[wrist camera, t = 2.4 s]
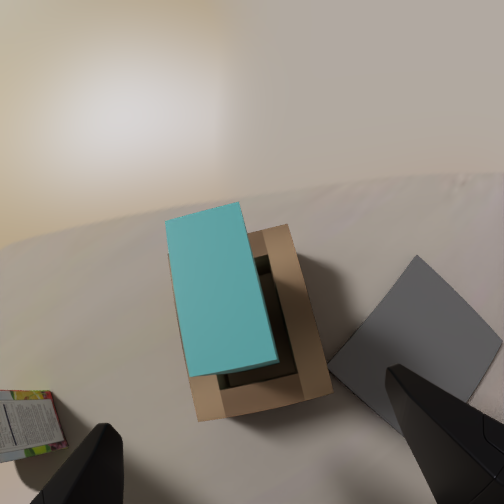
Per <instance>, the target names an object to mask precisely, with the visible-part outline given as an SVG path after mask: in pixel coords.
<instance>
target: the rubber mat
mask: <svg viewBox="0 0 504 504" xmlns="http://www.w3.org/2000/svg"><path fill="white" fill-rule="evenodd" d="M501 343H502V340H501V338H500V337H499V336H498V335H497V334H496V333H495V332H494V331H493V330H492V328H491V327H490V326H489V325H488V324H487V323H486V322H485V321H484V320H483V319H482V318H481V317H480V316H479V315H478V313H477V312H476V311H475V310H474V309H473V308H472V307H471V306H470V305H469V304H468V303H467V302H466V301H465V300H464V299H463V298H462V297H461V296H460V295H459V294H458V293H457V292H456V291H455V290H454V289H453V288H452V287H451V286H450V285H449V284H448V283H447V282H446V281H445V280H444V279H443V278H442V277H441V276H439V275H438V274H437V273H436V272H435V271H434V270H433V269H432V268H431V267H430V266H429V265H428V264H427V263H426V262H425V261H423V260H422V259H421V258H420V257H419V256H418V255H416V256H415V257H414V258H413V260H412V261H411V263H410V264H409V265H408V267H407V268H406V269H405V271H404V272H403V274H402V275H401V276H400V278H399V279H398V280H397V281H396V283H395V284H394V285H393V287H392V288H391V289H390V291H389V292H388V293H387V294H386V296H385V297H384V298H383V299H382V301H381V302H380V303H379V304H378V306H377V307H376V308H375V309H374V311H373V312H372V313H371V314H370V315H369V317H368V318H367V319H366V320H365V321H364V323H363V324H362V325H361V326H360V327H359V329H358V330H357V331H356V332H355V333H354V334H353V335H352V337H351V338H350V339H349V340H348V341H347V342H346V343H345V345H344V346H343V347H342V348H341V349H340V350H339V351H338V352H337V353H336V354H335V356H334V357H333V358H332V359H331V360H330V361H329V362H328V363H327V367H328V370H329V371H330V372H331V373H332V374H334V375H335V376H336V377H337V378H338V379H339V380H340V381H341V382H342V383H343V384H345V385H346V386H347V387H348V388H349V389H350V390H351V391H352V392H353V393H355V394H356V395H357V396H358V397H359V398H360V399H361V400H362V401H364V402H365V403H366V404H367V405H368V406H369V407H370V408H371V409H373V410H374V411H375V412H376V413H377V414H378V415H379V416H381V417H382V418H383V419H384V420H385V421H386V422H387V423H389V424H390V425H391V426H392V427H393V428H394V429H395V430H397V431H398V432H399V433H400V434H401V435H402V436H404V435H403V433H402V431H401V429H400V426H399V424H398V421H397V418H396V416H395V413H394V410H393V407H392V405H391V402H390V400H389V397H388V394H387V392H386V389H385V376H386V369H387V367H388V366H391V365H394V364H396V363H400V364H402V365H403V366H405V367H407V368H408V369H410V370H412V371H413V372H415V373H417V374H418V375H420V376H422V377H423V378H425V379H427V380H428V381H430V382H432V383H433V384H435V385H437V386H438V387H440V388H442V389H443V390H445V391H447V392H448V393H450V394H452V395H454V396H455V397H457V398H459V399H460V400H462V401H464V402H465V403H466V402H467V401H468V399H469V398H470V396H471V395H472V393H473V391H474V390H475V388H476V387H477V385H478V384H479V382H480V380H481V379H482V377H483V375H484V374H485V372H486V370H487V369H488V367H489V365H490V364H491V362H492V360H493V358H494V356H495V355H496V353H497V351H498V349H499V347H500V345H501Z"/></svg>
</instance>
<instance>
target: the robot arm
mask: <svg viewBox="0 0 504 504" xmlns="http://www.w3.org/2000/svg"><path fill="white" fill-rule="evenodd" d="M385 389H386V392H387V394H388V397H389V400H390V402H391V405H392V407H393V410H394V413H395V416H396V418H397V421H398V424H399V426H400V429H401V431H402V433H403V435H404V437H405V439H406V441H407V443H408V445H409V447H410V449H411V451H412V453H413V455H414V457H415V459H416V461H417V463H418V465H419V467H420V469H421V471H422V473H423V475H424V477H425V479H426V481H427V483H428V485H429V487H430V489H431V492H432V494H433V496H434V498H435V500H436V502H437V504H504V424H502V423H500V422H498V421H497V420H495V419H493V418H491V417H489V416H488V415H486V414H483V413H482V412H481V411H479V410H477V409H476V408H474V407H472V406H470V405H469V404H467V403H465V402H464V401H462V400H460V399H459V398H457V397H455V396H454V395H452V394H450V393H448V392H447V391H445V390H443V389H442V388H440V387H438V386H437V385H435V384H433V383H432V382H430V381H428V380H427V379H425V378H423V377H422V376H420V375H418V374H417V373H415V372H413V371H412V370H410V369H408V368H407V367H405V366H403V365H402V364H400V363H396V364H394V365H391V366H388V367H387V369H386V376H385ZM123 490H124V465H123V441H122V437H121V436H120V434H119V433H118V432H117V431H116V430H115V429H114V428H113V427H112V425H111V424H109V423H99V424H97V425H96V426H95V427H94V429H93V430H92V431H91V432H90V433H89V434H88V436H87V437H86V438H85V439H84V440H83V441H82V443H81V444H80V445H79V446H78V447H77V449H76V450H75V451H74V452H73V453H72V454H71V456H70V457H69V458H68V459H67V460H66V462H65V463H64V464H63V465H62V466H61V467H60V469H59V470H58V471H57V472H56V473H55V475H54V476H53V477H52V478H51V479H50V481H49V482H48V483H47V484H46V485H45V486H44V488H43V490H41V491H40V492H39V494H38V495H37V496H36V497H35V498H34V499H33V500H32V502H31V503H30V504H123Z"/></svg>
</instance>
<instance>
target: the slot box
mask: <svg viewBox="0 0 504 504" xmlns="http://www.w3.org/2000/svg"><path fill="white" fill-rule="evenodd" d="M247 235H248V238H249V242H250V246H251V250H252V253H253V257H254V261H255V265H256V268H257V272H258V276H259V280H260V283H261V287H262V291H263V295H264V299H265V304H266V308H267V312H268V316H269V320H270V324H271V328H272V332H273V336H274V341H275V345H276V349H277V353H278V357H279V361H280V363H278V364H274V365H269V366H265V367H261V368H256V369H252V370H247V371H242V372H235V373H227V374H217V375H207V376H196V377H189V372H188V367H187V362H186V357H185V352H184V346H183V341H182V335H181V330H180V324H179V318H178V312H177V306H176V300H175V293H174V287H173V280H172V273H171V266H170V258H169V253H168V259H169V267H170V274H171V281H172V288H173V295H174V301H175V308H176V314H177V320H178V326H179V331H180V337H181V342H182V348H183V353H184V358H185V363H186V368H187V373H188V378H189V383H190V388H191V392H192V397H193V401H194V406H195V410H196V414H197V418H198V422H201V421H208V420H215V419H221V418H227V417H233V416H239V415H244V414H250V413H255V412H260V411H264V410H269V409H274V408H278V407H282V406H287V405H291V404H295V403H299V402H303V401H307V400H310V399H314V398H318V397H321V396H325V395H328V394H332V393H334V392H333V387H332V383H331V379H330V375H329V371H328V367H327V363H326V359H325V356H324V352H323V348H322V344H321V340H320V336H319V333H318V329H317V325H316V321H315V318H314V314H313V310H312V307H311V303H310V299H309V296H308V292H307V289H306V285H305V282H304V278H303V275H302V271H301V268H300V264H299V261H298V257H297V254H296V251H295V247H294V244H293V240H292V237H291V234H290V230H289V227H288V224H285V225H280V226H276V227H272V228H268V229H264V230H260V231H256V232H252V233H248V234H247Z"/></svg>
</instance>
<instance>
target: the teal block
mask: <svg viewBox="0 0 504 504" xmlns="http://www.w3.org/2000/svg"><path fill="white" fill-rule="evenodd" d="M165 225H166V234H167V242H168V250H169V258H170V266H171V273H172V280H173V287H174V293H175V300H176V306H177V312H178V318H179V324H180V330H181V335H182V341H183V346H184V352H185V357H186V362H187V367H188V372H189V377H196V376H207V375H217V374H227V373H235V372H242V371H247V370H252V369H256V368H261V367H265V366H269V365H274V364H278V363H280V361H279V357H278V353H277V349H276V345H275V341H274V336H273V332H272V328H271V324H270V320H269V316H268V312H267V308H266V304H265V299H264V295H263V291H262V287H261V283H260V280H259V276H258V272H257V268H256V265H255V261H254V257H253V253H252V250H251V246H250V242H249V238H248V235H247V231H246V227H245V223H244V220H243V216H242V212H241V208H240V205H239V202H236V203H232V204H228V205H224V206H220V207H216V208H212V209H208V210H205V211H201V212H197V213H193V214H189V215H186V216H182V217H178V218H175V219H171V220H168V221H165Z"/></svg>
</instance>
